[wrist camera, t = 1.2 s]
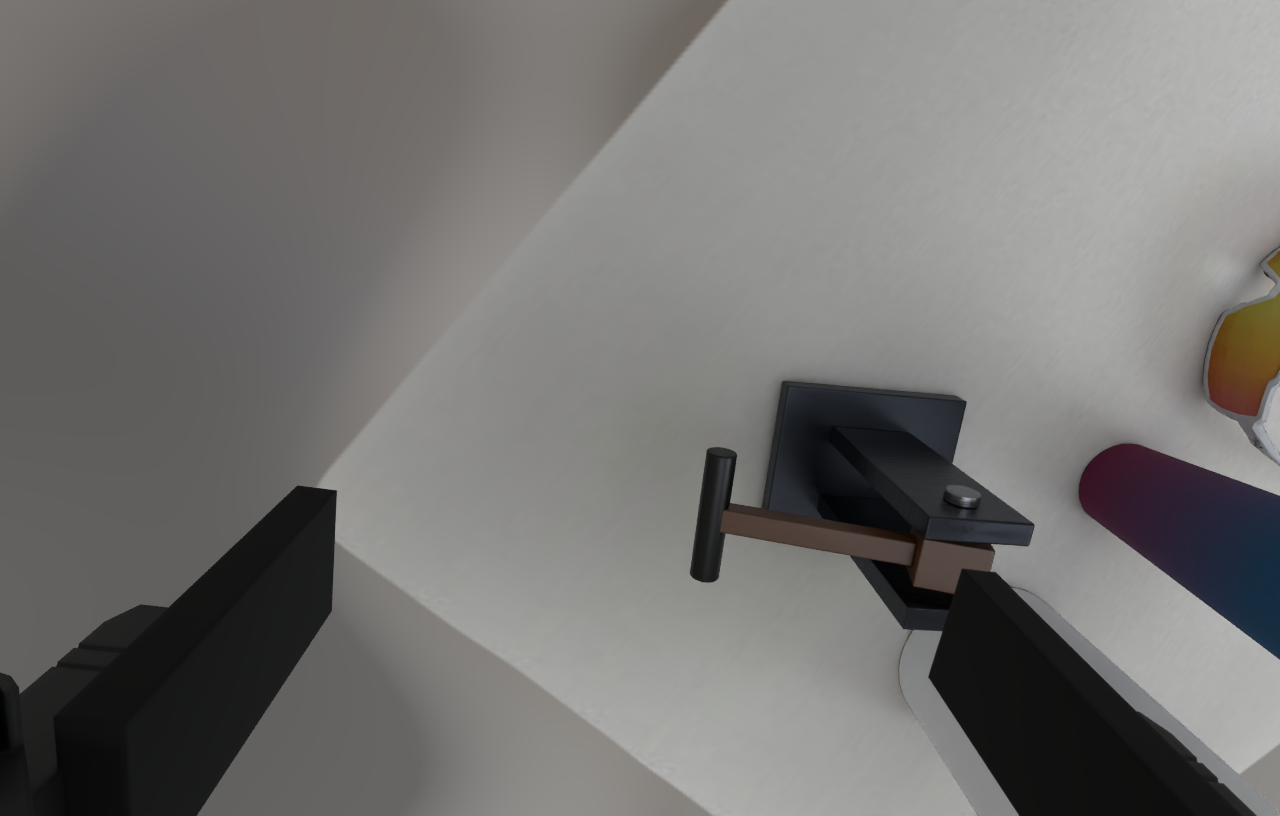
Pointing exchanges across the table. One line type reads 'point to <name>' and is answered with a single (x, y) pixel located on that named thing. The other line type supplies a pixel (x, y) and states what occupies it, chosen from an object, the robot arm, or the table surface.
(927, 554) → the lever
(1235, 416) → the sunglasses
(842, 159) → the table surface
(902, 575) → the bracket
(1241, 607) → the cup
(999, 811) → the tall pillar cylinder
